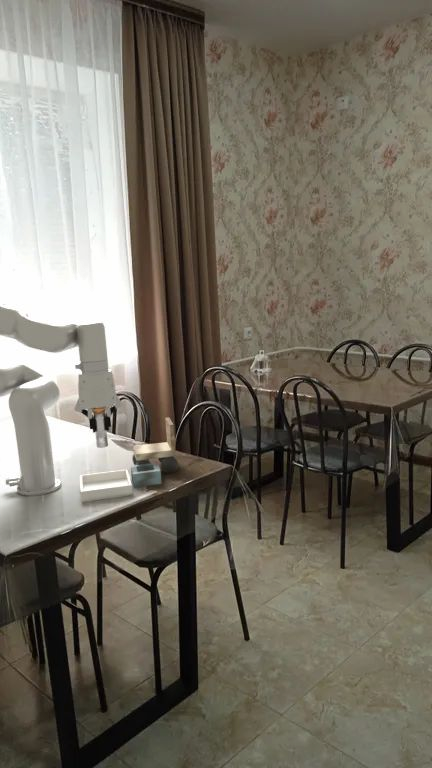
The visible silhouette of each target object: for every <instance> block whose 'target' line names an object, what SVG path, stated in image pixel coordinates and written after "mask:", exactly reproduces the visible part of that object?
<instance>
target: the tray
mask: <svg viewBox="0 0 432 768" xmlns="http://www.w3.org/2000/svg"><path fill="white" fill-rule="evenodd" d="M129 473H130V472H129V471H128V469H119V470H112V471H110V470H109V471H103V472H95V473H88V474H80V475H79V483H80V498H81V502H82V503H85V502H90V501H98V500H105V499H106V500H107V499H113V498H114V499H115V498H120V497H121V498H122V497H129V495H130V496H133V483H132V479H131V477H130V474H129Z"/></svg>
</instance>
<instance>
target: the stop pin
mask: <svg viewBox="0 0 432 768" xmlns="http://www.w3.org/2000/svg"><path fill="white" fill-rule="evenodd" d="M92 415H93V417H94V421H95V431H96V432H95V433H94V434H95V444H96V448H101V449H103V448H106V447H107V448H108V446H109V440H108V431H107V430H106V420H105V416H106V409H105V407H102V408H93V409H92Z"/></svg>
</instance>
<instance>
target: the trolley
mask: <svg viewBox="0 0 432 768" xmlns="http://www.w3.org/2000/svg"><path fill="white" fill-rule="evenodd" d="M164 420H165V431H166V442H158V443H157V442H156V443H149V444H139V445H133V446H132V449H133V454H132V463H133V464H134V465H133V464H132V465H130V475H131V477H130V479H131V483H132V486H133V487H134V488H139V487H140V488H141V487H146V486H147V487H148V486H156V485H161V484H163V483H162V473H161V472H162V471H161V468H162V470H163V472H165V473H167V474H174V473H175V472H176V471H178V469H179V461H178V460H177V458H176V455H177V454H176V453H177V451H176V439H175V427H174V425H175V424H174V423H173V421H172V420H171V418H170V417H165V419H164ZM154 459H158V461H159V462H160V464H161V468H160V467H159V464H158V462H151V461H150V460H154Z"/></svg>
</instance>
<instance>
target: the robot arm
mask: <svg viewBox="0 0 432 768" xmlns="http://www.w3.org/2000/svg"><path fill="white" fill-rule="evenodd" d="M105 327H106V326H105V324H104V323H103V322H102V321H99V320H98V321H95V320H94V321H84V322H80V321H74V320H73V321H71V320H70V321H69V320H68V321H64V322H63V321H62V322H58V323H55V324H49V323H45V322H41V321H36V320H33V319H30V318H29V315H28V313H27V312H26V311H25V310H24V309H21V308H17V307H13V306H9V304H8V303H7V302H6V301H5V300H2V299H0V336H2V337H6V338H10V339H14V340H16V341H17V342H18V343H20V344H22V345H23V346H26V347H28V348H30V349H35V350H38V351H43V352H47V353H56V354H57V353H62V352H64V351H67V350H71V349H74V348H78V354H79V356H78V357H79V363H75V364H74V367H75V368H74V369H75V370H80V371H79V373H78V380H77V383H78V384H77V386H78V387H77V390H78V399H77V402H76V403H75V406H74V411H75V412H78V413H80V414H83V415H84V416H85V417H86V418H87V419H88V422H89V429H90V430H92V433H94V434H95V432H96V431H95V421H94V415H93V412H92V409H93V408H102V407H105V409H106V410H105V420H106V430H107V432H109V431H110V428H112V421H111V417H112V415H113V414H114V413H115V411H116V410H117V409H119V408H121V407H122V406H123V402H122V401H121V399H120V398H119V396H118V395H117V390H116V384H115V379H114V374H113V371H112V369H109V360H108V350H107V338H106V330H105V329H106V328H105ZM7 395H9V398H8V408H9V411H10V414H11V417H12V421H13V424H14V431H15V440H16V446H17V453H18V454H17V455H18V463H19V470H20V471H19V472H20V474H19V475H18V476H16V477H7V478H5V485H6V486H7V485H8V486H9V487H15V486H16V491H17V492H16V493H18V494H19V495H21V496H28V497H29V496H30V497H31V496H35V497H36V496H41V495H45V494H46V495H47V494H49V493H53V492H55V491H57V490H58V489H59V488H60V487H61V486H62V481H61V480H60V478H56V474H55V467H54V465H55V464H54V457H53V447H52V440H51V439H52V438H51V432H50V431H51V429H50V426H49V425H50V424H49V422H48V420H47V418H46V415H45V411H46V410H48V409H50V408H52V407H53V406H55V405H56V404H57V402H58V401H59V399H60V389H59V387H58V385H57V383H56V382H55V381H54V380H52V379H51V378H50V377H48V376H47V375H46V374H43V373H42V372H40V371H38V370H36V369H35V368H33V367H32V366H30V365H28V364H27V363H24V362H23V361H19V360H15V359H10V360H5V361H2V362H0V398H1V397H5V396H7Z"/></svg>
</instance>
